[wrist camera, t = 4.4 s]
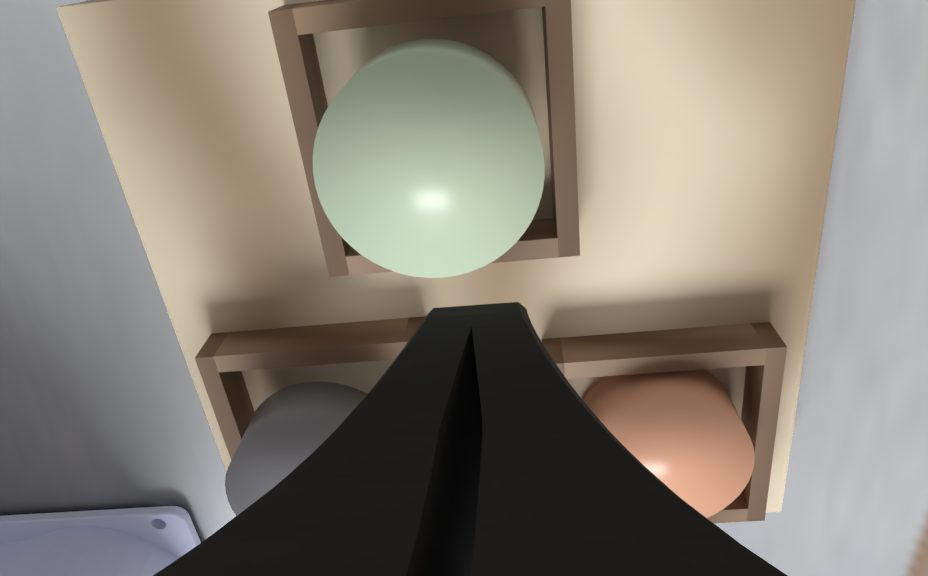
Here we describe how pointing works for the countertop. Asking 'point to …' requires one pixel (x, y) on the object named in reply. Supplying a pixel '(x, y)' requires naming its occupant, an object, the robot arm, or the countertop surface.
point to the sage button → (430, 159)
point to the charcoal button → (285, 436)
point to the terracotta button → (680, 432)
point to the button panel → (555, 222)
